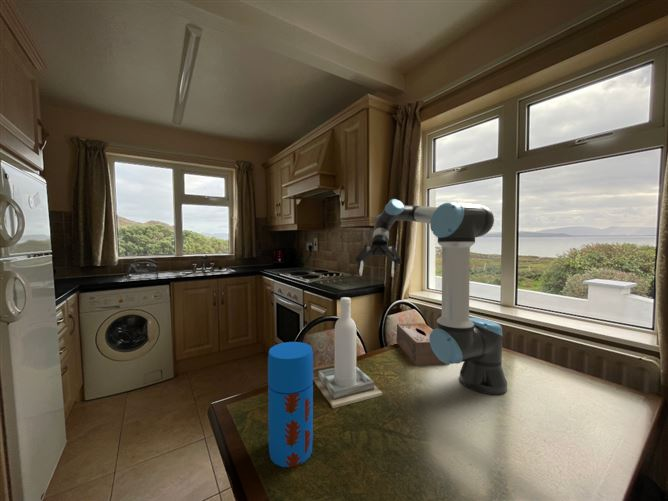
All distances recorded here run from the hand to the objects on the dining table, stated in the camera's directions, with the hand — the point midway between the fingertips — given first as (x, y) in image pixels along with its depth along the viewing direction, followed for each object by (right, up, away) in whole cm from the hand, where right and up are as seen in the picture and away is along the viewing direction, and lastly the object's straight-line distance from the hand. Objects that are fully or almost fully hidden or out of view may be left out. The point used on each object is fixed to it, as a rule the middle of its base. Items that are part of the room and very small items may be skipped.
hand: (376, 274), depth 114 cm
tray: (-14, -38, -18) cm, 45 cm away
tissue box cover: (+23, -38, +11) cm, 46 cm away
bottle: (-14, -37, -18) cm, 43 cm away
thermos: (-29, -39, -48) cm, 68 cm away
